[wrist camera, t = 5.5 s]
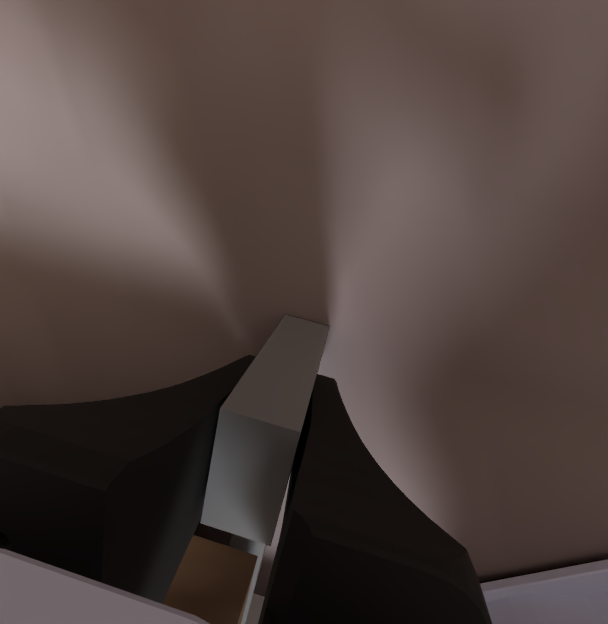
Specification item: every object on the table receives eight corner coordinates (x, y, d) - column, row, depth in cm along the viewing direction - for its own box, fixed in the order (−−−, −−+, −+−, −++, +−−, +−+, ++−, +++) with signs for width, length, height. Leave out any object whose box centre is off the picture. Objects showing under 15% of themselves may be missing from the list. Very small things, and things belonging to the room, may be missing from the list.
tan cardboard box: (290, 473, 14) (228, 702, 8) (242, 655, 18) (172, 912, 12) (-69, 363, 16) (-381, 478, 9) (-44, 553, 20) (-251, 732, 13)
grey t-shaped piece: (421, 350, 12) (472, 482, 6) (317, 633, 17) (294, 849, 11) (199, 291, 13) (68, 363, 7) (161, 579, 18) (65, 758, 12)
